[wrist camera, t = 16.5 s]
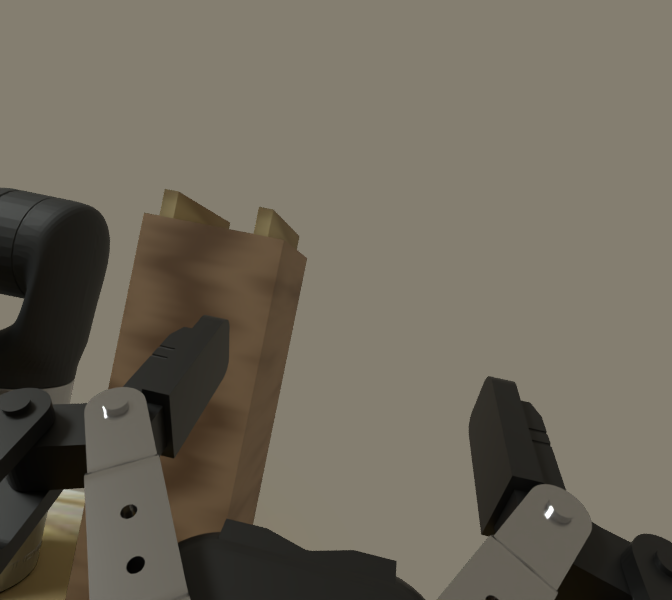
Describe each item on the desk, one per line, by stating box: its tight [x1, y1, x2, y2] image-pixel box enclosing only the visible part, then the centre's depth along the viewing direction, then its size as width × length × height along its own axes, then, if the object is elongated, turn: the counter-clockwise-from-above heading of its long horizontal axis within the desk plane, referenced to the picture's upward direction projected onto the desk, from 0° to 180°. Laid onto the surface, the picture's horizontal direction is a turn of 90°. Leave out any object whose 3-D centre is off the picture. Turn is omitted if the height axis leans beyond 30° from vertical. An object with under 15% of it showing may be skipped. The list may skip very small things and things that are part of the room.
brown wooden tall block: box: [65, 189, 307, 600], centre depth 28 cm, size 9×11×34 cm
